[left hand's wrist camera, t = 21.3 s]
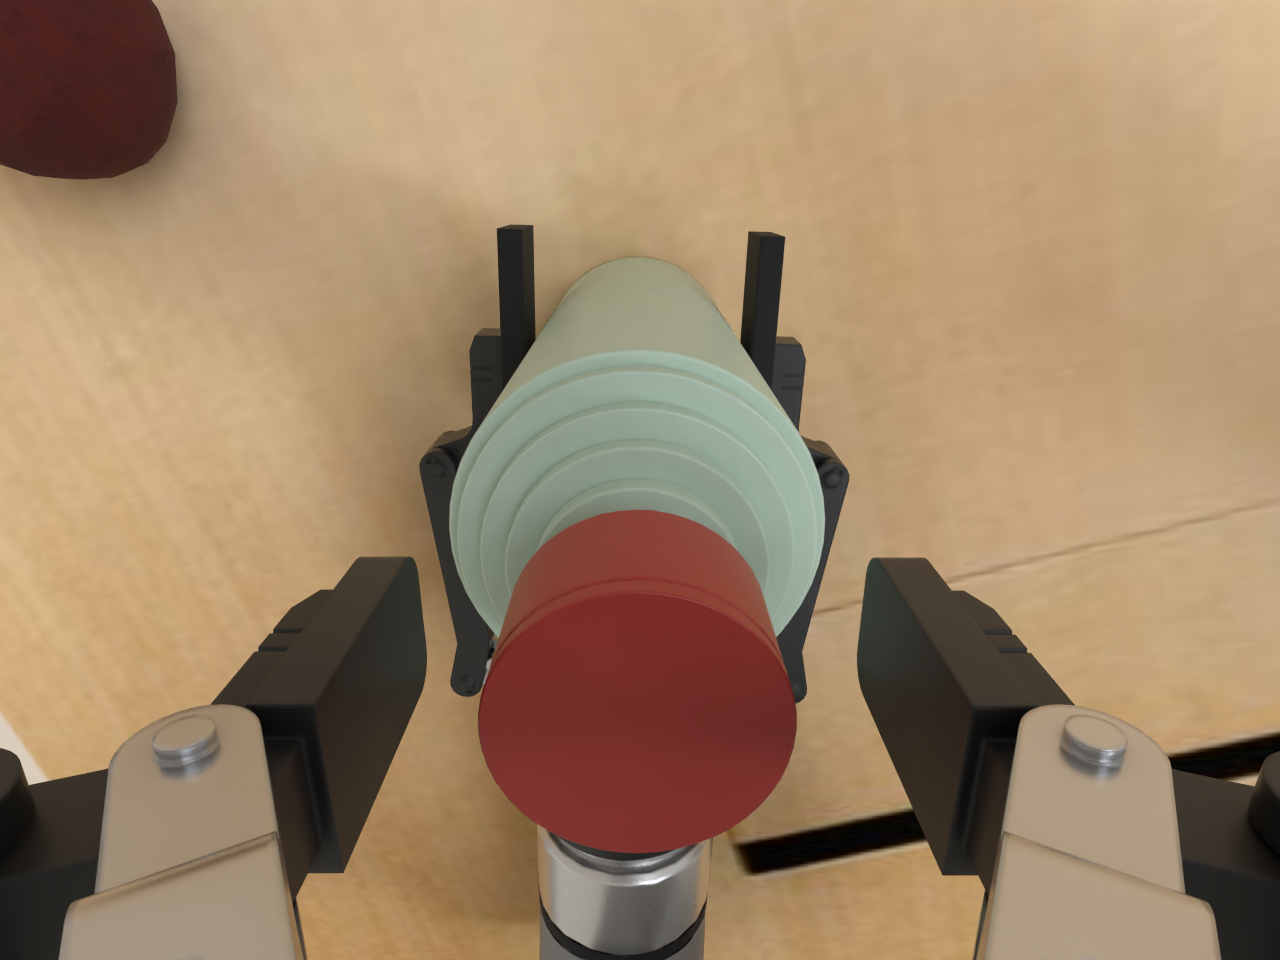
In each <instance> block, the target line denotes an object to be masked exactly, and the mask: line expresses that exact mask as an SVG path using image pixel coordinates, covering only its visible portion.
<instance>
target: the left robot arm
mask: <svg viewBox="0 0 1280 960" xmlns="http://www.w3.org/2000/svg"><path fill="white" fill-rule="evenodd" d="M426 666H427V650H426V640H425V631H424V623H423V614H422V605H421V596H420V587H419V578H418V571H417V566H416V563H415V561H414V559H413V558H412V557H359V558H358V559H357V560H356V561H355V562H354V563H353V565H352V566H351V567H350V569H349V570H348V571H347V572H346V574H345V575H344V576H343V578H342V579H341V580H340V582H339V583H338V584H337V585H336V587H335V588H334V589H333V590H320V591H318V592H316V593H315V594H313V595H311V596H310V597H308V598H307V599H305V600H303V601H302V602H300V603H298V604H297V605H295V606H294V607H292V608H291V609H290V610H289V611H288V612H287V613H286V615H285V616H284V617H283V618H282V619H281V621H280V622H279V623H278V624H277V625H276V627H275V628H274V629H273V634H269V635H268V636H267V637H266V639H265V640H264V641H263V642H262V643H261V645H260V646H259V650H258V652H254V653H253V654H252V655H251V657H250V658H249V659H248V660H247V661H246V663H245V664H244V665H243V666H242V667H241V669H240V670H239V671H238V672H237V673H236V675H235V676H234V677H233V678H232V679H231V681H230V682H229V683H228V684H227V685H226V687H225V688H224V689H223V690H222V691H221V693H220V694H219V695H218V696H217V697H216V699H215V700H214V701H213V702H212V703H211V705H207V706H199V707H195V708H190V709H186V710H183V711H180V712H177V713H174V714H171V715H169V716H166V717H164V718H161V719H159V720H157V721H155V722H153V723H151V724H149V725H148V726H146V727H144V728H143V729H141V730H139V731H138V732H137V733H135V734H134V735H133V736H131V737H130V738H129V739H128V740H127V741H125V742H124V743H123V744H122V745H121V746H120V748H119V749H118V750H117V751H116V752H115V754H114V756H113V758H112V759H111V761H110V765H109V769H104V770H100V771H95V772H91V773H86V774H81V775H76V776H71V777H66V778H62V779H57V780H52V781H47V782H42V783H37V784H33V785H28V782H27V779H26V776H25V774H24V771H23V768H22V765H21V762H20V760H19V758H18V757H17V755H15V754H14V753H12V752H11V751H8V750H5V749H2V748H0V960H308V958H307V952H306V946H305V941H304V935H303V929H302V923H301V918H300V912H299V908H298V903H297V898H296V896H297V894H298V892H299V890H300V888H301V886H302V884H303V882H304V880H305V878H306V876H307V874H308V873H344V870H345V868H346V866H347V863H348V861H349V859H350V856H351V854H352V852H353V849H354V847H355V845H356V843H357V840H358V838H359V836H360V833H361V831H362V829H363V826H364V824H365V822H366V820H367V817H368V815H369V813H370V810H371V808H372V806H373V803H374V801H375V799H376V797H377V794H378V792H379V790H380V787H381V785H382V783H383V780H384V778H385V776H386V773H387V771H388V769H389V767H390V764H391V762H392V760H393V757H394V755H395V753H396V750H397V748H398V746H399V744H400V741H401V739H402V737H403V734H404V732H405V730H406V727H407V725H408V723H409V720H410V718H411V716H412V714H413V711H414V709H415V707H416V704H417V702H418V700H419V697H420V695H421V693H422V690H423V686H424V682H425V676H426ZM857 668H858V677H859V683H860V687H861V691H862V694H863V696H864V698H865V701H866V703H867V705H868V708H869V710H870V712H871V714H872V717H873V719H874V721H875V723H876V726H877V728H878V730H879V732H880V735H881V737H882V739H883V742H884V744H885V746H886V748H887V751H888V753H889V755H890V757H891V760H892V762H893V764H894V766H895V769H896V771H897V773H898V776H899V778H900V780H901V782H902V785H903V787H904V789H905V791H906V794H907V796H908V798H909V800H910V803H911V805H912V807H913V810H914V812H915V814H916V816H917V819H918V821H919V823H920V825H921V828H922V830H923V832H924V834H925V837H926V839H927V841H928V844H929V846H930V848H931V850H932V853H933V855H934V857H935V859H936V862H937V864H938V866H939V868H940V871H941V873H942V875H979V877H980V879H981V882H982V884H983V886H984V888H985V893H984V898H983V903H982V908H981V912H980V918H979V923H978V929H977V935H976V941H975V946H974V952H973V958H972V960H1280V751H1279V752H1276V753H1273V754H1271V755H1270V756H1269V757H1267V758H1266V760H1265V761H1264V763H1263V765H1262V768H1261V771H1260V774H1259V777H1258V779H1257V782H1256V785H1255V787H1254V786H1249V785H1245V784H1240V783H1235V782H1230V781H1225V780H1220V779H1216V778H1211V777H1206V776H1201V775H1196V774H1191V773H1187V772H1182V771H1178V770H1174V769H1171V765H1170V761H1169V759H1168V758H1167V756H1166V754H1165V752H1164V751H1163V750H1162V749H1161V748H1160V746H1159V745H1158V744H1157V743H1156V742H1155V741H1153V740H1152V739H1151V738H1150V737H1149V736H1147V735H1146V734H1145V733H1143V732H1142V731H1141V730H1139V729H1137V728H1136V727H1134V726H1132V725H1131V724H1129V723H1127V722H1125V721H1123V720H1121V719H1119V718H1116V717H1114V716H1111V715H1109V714H1106V713H1103V712H1100V711H1097V710H1094V709H1090V708H1085V707H1081V706H1075V705H1074V704H1073V702H1072V701H1071V700H1070V699H1069V698H1068V697H1067V695H1066V694H1065V693H1064V692H1063V691H1062V689H1061V688H1060V687H1059V686H1058V685H1057V683H1056V682H1055V681H1054V680H1053V679H1052V678H1051V676H1050V675H1049V674H1048V673H1047V672H1046V670H1045V669H1044V668H1043V667H1042V666H1041V664H1040V663H1039V662H1038V661H1037V660H1036V659H1035V657H1034V656H1033V655H1032V654H1031V653H1027V648H1026V647H1025V646H1024V644H1023V643H1022V642H1021V641H1020V640H1019V638H1018V637H1017V636H1016V635H1012V630H1011V629H1010V628H1009V627H1008V625H1007V624H1006V623H1005V622H1004V621H1003V619H1002V618H1001V617H1000V616H999V615H998V613H997V612H996V611H995V610H994V609H993V608H991V607H990V606H988V605H986V604H985V603H983V602H981V601H980V600H978V599H976V598H975V597H973V596H972V595H970V594H968V593H967V592H965V591H951V589H950V588H949V587H948V585H947V584H946V583H945V582H944V580H943V579H942V578H941V576H940V575H939V574H938V573H937V571H936V570H935V569H934V567H933V566H932V565H931V564H930V562H929V561H928V560H927V559H925V558H872V559H871V561H870V562H869V565H868V568H867V572H866V580H865V589H864V597H863V606H862V615H861V624H860V632H859V641H858V651H857Z"/></svg>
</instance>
